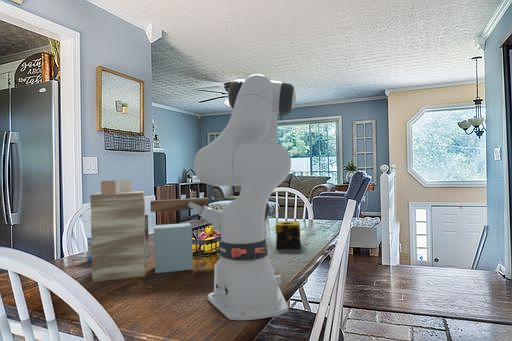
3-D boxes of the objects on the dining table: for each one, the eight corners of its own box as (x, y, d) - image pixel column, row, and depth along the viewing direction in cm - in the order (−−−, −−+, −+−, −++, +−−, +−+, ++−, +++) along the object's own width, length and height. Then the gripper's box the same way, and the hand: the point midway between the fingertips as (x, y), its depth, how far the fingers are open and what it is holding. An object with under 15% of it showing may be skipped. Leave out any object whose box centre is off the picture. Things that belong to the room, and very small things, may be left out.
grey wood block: (145, 276, 107) (143, 192, 108) (92, 281, 103) (90, 194, 103) (146, 265, 120) (144, 190, 120) (99, 270, 116) (97, 192, 116)
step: (192, 269, 114) (191, 226, 114) (155, 273, 111) (154, 228, 111) (190, 263, 122) (189, 223, 122) (155, 266, 118) (154, 225, 118)
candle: (300, 244, 150) (299, 220, 150) (301, 249, 140) (300, 224, 140) (276, 244, 151) (276, 221, 151) (276, 249, 141) (275, 224, 141)
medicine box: (87, 260, 129) (86, 237, 129) (97, 258, 133) (97, 235, 133) (101, 263, 126) (100, 239, 126) (111, 260, 130) (111, 237, 130)
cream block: (132, 191, 116) (132, 179, 116) (120, 192, 114) (120, 180, 114) (130, 191, 119) (129, 179, 119) (118, 192, 117) (118, 180, 117)
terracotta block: (115, 193, 105) (115, 180, 105) (101, 194, 104) (100, 181, 104) (116, 193, 109) (116, 180, 109) (103, 193, 108) (102, 180, 108)
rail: (208, 208, 118) (208, 198, 118) (150, 212, 113) (150, 201, 113) (207, 207, 121) (207, 197, 121) (150, 211, 116) (150, 200, 116)
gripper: (222, 209, 132) (189, 192, 128) (233, 216, 112) (195, 196, 109) (214, 224, 131) (181, 208, 128) (224, 233, 111) (186, 214, 108)
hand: (188, 202), depth 118 cm, fingers closed on rail, 3 cm apart
